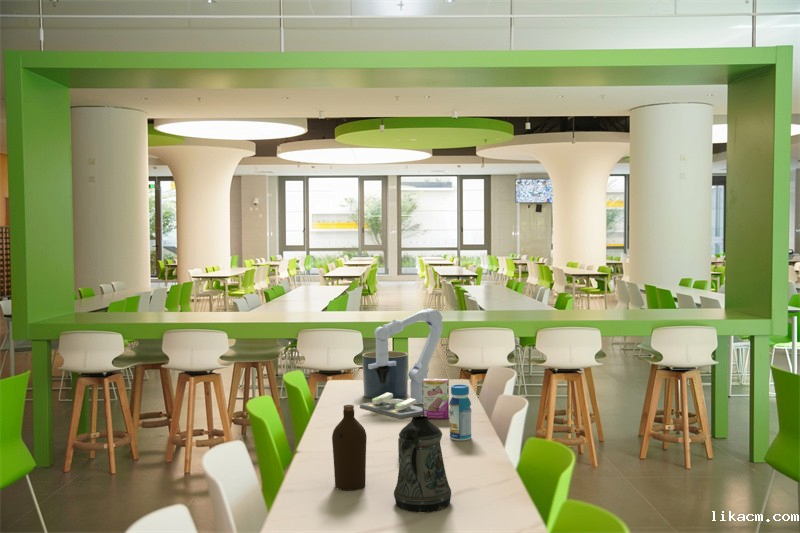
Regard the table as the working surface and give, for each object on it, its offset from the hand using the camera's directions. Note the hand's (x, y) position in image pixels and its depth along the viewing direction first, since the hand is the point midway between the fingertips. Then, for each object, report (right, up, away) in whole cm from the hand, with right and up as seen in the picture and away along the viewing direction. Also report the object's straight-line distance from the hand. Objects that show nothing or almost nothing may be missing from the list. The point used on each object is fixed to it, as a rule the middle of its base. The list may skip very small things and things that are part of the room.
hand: (382, 382), depth 357 cm
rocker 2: (+5, -7, -10) cm, 13 cm away
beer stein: (+14, -15, -134) cm, 136 cm away
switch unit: (+5, -11, -10) cm, 15 cm away
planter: (+1, -10, +24) cm, 26 cm away
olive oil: (-7, -15, -115) cm, 117 cm away
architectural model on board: (+13, -14, -87) cm, 89 cm away
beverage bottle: (+31, -12, -61) cm, 69 cm away
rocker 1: (0, -7, -3) cm, 7 cm away
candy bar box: (+23, -11, -26) cm, 37 cm away
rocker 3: (+10, -7, -16) cm, 21 cm away
